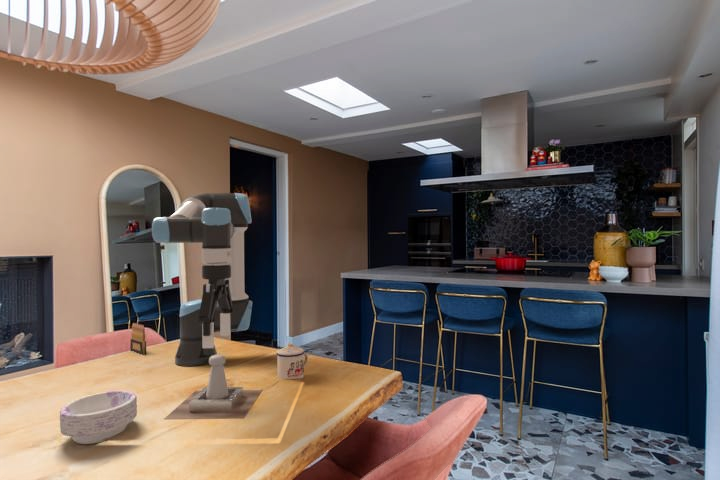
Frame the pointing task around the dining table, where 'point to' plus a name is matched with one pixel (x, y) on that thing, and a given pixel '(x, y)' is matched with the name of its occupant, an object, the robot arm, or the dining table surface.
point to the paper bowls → (98, 416)
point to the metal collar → (216, 401)
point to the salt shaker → (217, 379)
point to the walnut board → (236, 413)
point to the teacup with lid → (291, 362)
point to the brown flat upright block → (138, 339)
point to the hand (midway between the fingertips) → (217, 341)
